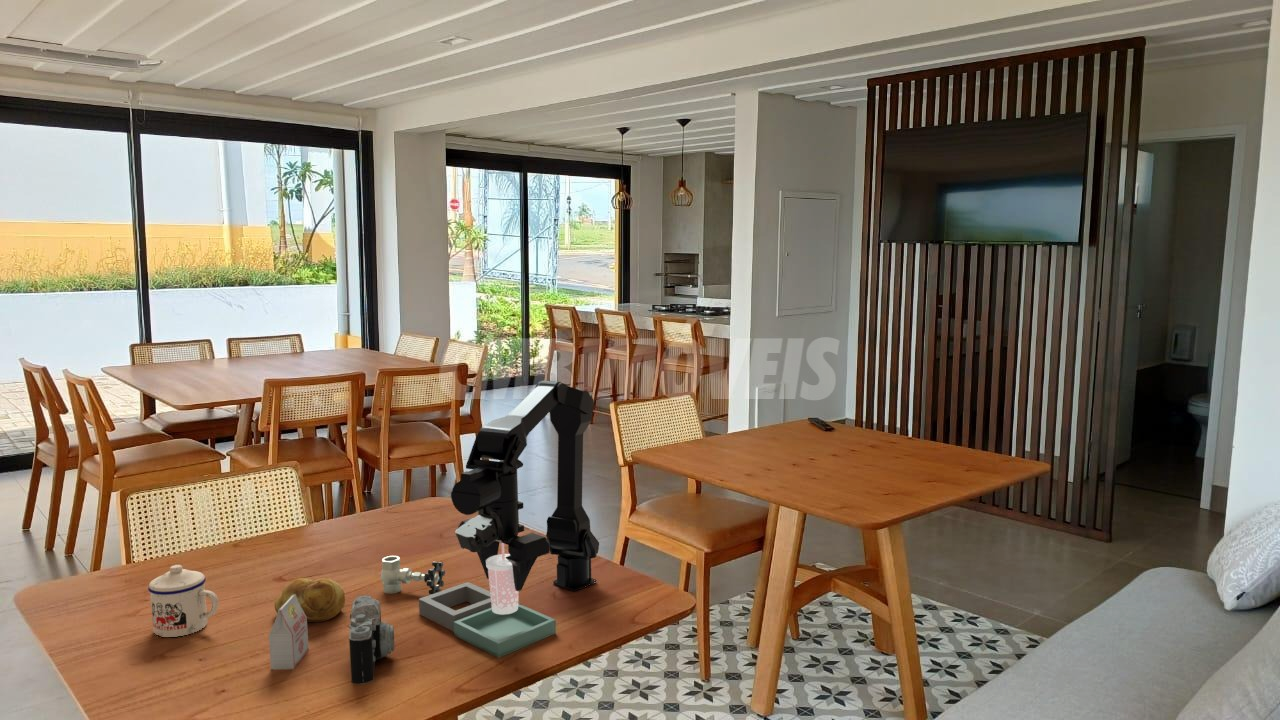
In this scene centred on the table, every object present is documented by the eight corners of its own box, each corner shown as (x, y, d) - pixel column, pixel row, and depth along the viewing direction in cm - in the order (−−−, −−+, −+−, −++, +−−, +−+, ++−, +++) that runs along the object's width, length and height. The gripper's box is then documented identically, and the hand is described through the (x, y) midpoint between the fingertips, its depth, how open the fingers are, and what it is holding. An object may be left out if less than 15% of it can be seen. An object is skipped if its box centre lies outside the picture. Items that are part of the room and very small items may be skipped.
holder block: (468, 596, 172) (467, 581, 172) (503, 612, 165) (503, 597, 164) (419, 614, 164) (418, 598, 164) (454, 631, 157) (453, 615, 156)
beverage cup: (529, 604, 157) (526, 528, 155) (511, 618, 151) (508, 540, 149) (499, 599, 159) (496, 524, 157) (480, 613, 153) (477, 535, 151)
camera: (394, 680, 140) (391, 620, 138) (349, 686, 138) (345, 625, 136) (395, 640, 154) (392, 585, 152) (354, 644, 152) (351, 589, 151)
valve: (374, 596, 173) (431, 600, 170) (372, 564, 172) (430, 568, 170) (390, 583, 179) (445, 587, 177) (388, 552, 178) (444, 556, 176)
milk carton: (271, 669, 143) (267, 610, 142) (286, 650, 150) (283, 594, 149) (293, 669, 143) (290, 610, 142) (308, 650, 150) (305, 593, 149)
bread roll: (264, 622, 161) (261, 580, 160) (297, 601, 171) (294, 561, 170) (325, 629, 158) (323, 586, 157) (356, 607, 167) (354, 567, 166)
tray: (510, 613, 164) (510, 600, 164) (555, 633, 156) (555, 619, 155) (454, 635, 155) (453, 621, 155) (498, 657, 147) (498, 643, 146)
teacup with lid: (140, 638, 155) (134, 574, 153) (174, 616, 164) (169, 556, 162) (203, 641, 153) (198, 577, 152) (234, 619, 162) (229, 558, 161)
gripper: (430, 497, 153) (434, 584, 155) (497, 520, 140) (500, 614, 142) (482, 484, 161) (485, 566, 163) (550, 504, 148) (552, 593, 150)
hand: (504, 584), depth 154 cm, fingers closed on beverage cup, 8 cm apart
